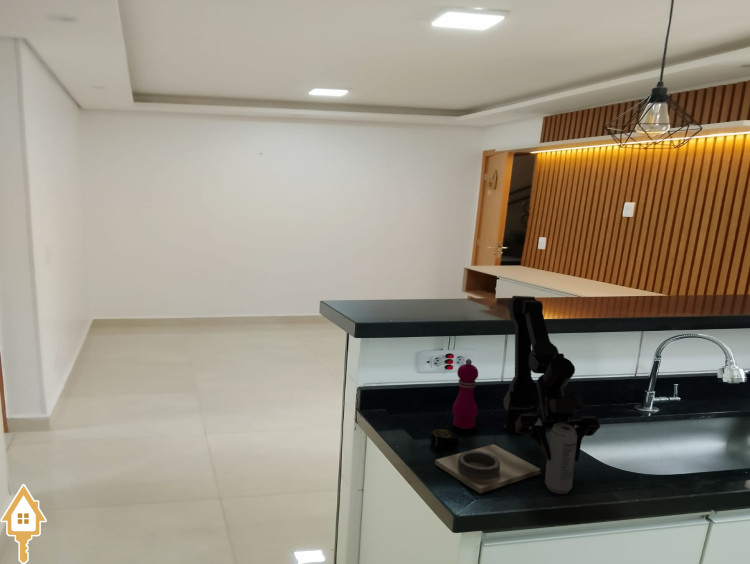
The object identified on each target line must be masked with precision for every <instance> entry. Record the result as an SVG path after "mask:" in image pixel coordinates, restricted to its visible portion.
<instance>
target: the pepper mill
mask: <svg viewBox="0 0 750 564" xmlns="http://www.w3.org/2000/svg"><path fill="white" fill-rule="evenodd" d="M456 373H457V377H458V378H459V379H458V383H457V384H458V386H459V389H458V390H459V391H458V395H457V397H456V399H455V401H454V403H453V406H452V414H453V415H454V417H453V425H454V427H456V428H458V427H459V429H463V430H469V429H473V428H475V425H476V420H475V418H476V417H477V415H478V407H477V402H476V401H475V396H474V395H475V394H474V390H475V387H476V386H477V385H476V383H477V381H476V379H478V378H479V377H478V376H479V370H478V368H477V366H475V365H474V364H472V360H471V359H470V358H468V359H466V360H465V363H463V364H461V365H460V366H459V367H458V369H457V372H456Z"/></svg>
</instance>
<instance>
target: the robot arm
mask: <svg viewBox="0 0 750 564" xmlns="http://www.w3.org/2000/svg"><path fill="white" fill-rule="evenodd" d="M507 311H508V312H509V313H508V314H509V315H508V316H509V319H510V320H511V322H512V323H513V325H514V377H513V378H512V379H511V381H510V383H509V384H508V391H507V392H506V393H505V396H504V398H503V407H504V409H505V410H506V412H507V414H506V424H505V425H504V424H503V425H502V428H503V429H505V430H507V431H510V432H511V433H513V434H515V435H517V436H521V435H525V434H527V437H528V438H531V439H532V440H533V441H534V442H535V444H536V445H537V446H538V447H539V449H540V451H541V453H543V455H544V457H545V459H546V461H547V460H550V459H551V456H550V450H549V446H548V445H549V440H548V437H547V429H552V428H553V425H554V424H556V423H565V424H569V425H571V426H573V427H574V428H575V432H576V434H577V444H576V453H575V462H578V461H579V459H580V452H581V446H582V441H583V438H584V437H591V436H594V434H595V433H596V432H597V431H598V430H599V429H600V428H601V424H600V420H599V418H597V417H596V416H594V415H593V416H590V415H580V417H579V418H578V419H577V420H569V419H571V418H572V417H573V414H574V415H575V414H577V411H583V409H584V402H583V398H582V396H580V395H573V396H571V398H567V396H565V395H564V391H563V390H564V389H563V388H565V387H566V386H567V384H568V383H569V382H570V381H571V379H572V378H573V376H574V374H575V371H576V368H575V365H574V364H573V362H572V361H571V360H569V358H566V357H565V354H564V353H562V352H561V353H559V350H558V347H557V346H555V345H554V343H552V342H551V340H550V336H549V333H548V328H547V325H546V321H545V317H544V313H543V311H544V304H543V302H542V300H537V299H536V297H535V296H528V295H527V296H526V295H513V296H512V297H511V299H508V300H507ZM532 373H534V374H542V375H540V376H539V377H538V379H536V382H535V381H534V379H533V377H532ZM539 403H540V404H539ZM538 407H539V410H541V415H542V418H538V415H537V411H538ZM535 413H536V414H535Z"/></svg>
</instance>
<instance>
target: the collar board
mask: <svg viewBox="0 0 750 564" xmlns="http://www.w3.org/2000/svg"><path fill="white" fill-rule="evenodd" d="M434 462H435V463H434V465H436V466H437V467H438V468H440V469H441V470H442V471H445V472H446V473H448V474H450V475H451V476H453V478H455V479H457V480H458V481H460V482H462V483H463V484H464V485H466V486H468V488H469V487H470V488H471V489H472V490H474V491H475V492H477V493H479V494H483V493H485V492H489V491H492V490H495V489H498V488H501V487H504V486H507V485H510V484H513V483H517V482H519V481H522V480H526V479H529V478H532V477H534V476H538V475H541V468H539V467H537V466H536V465H533V464H532V463H529V462H528V461H526V460H524V459H521V458H520V457H519V456H517V455H514V454H512V453H511V452H509V451H508V450H505V449H503V448H501V447H499V446H497V445H495V444H493V443H492V444H489V445H486V446H481V447H478V448H474V449H470V450H467V451H464V452H460V453H456V454H453V455H452V454H451V455H449V456H445V457H441V458H438V459H435V461H434Z"/></svg>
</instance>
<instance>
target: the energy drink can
mask: <svg viewBox="0 0 750 564" xmlns="http://www.w3.org/2000/svg"><path fill="white" fill-rule="evenodd" d="M548 435H549V436H548V437H549V438H548V446H549V450H550V456H551V459H550V460H547V459H546V467H545V477H544V484H545V486H546V488H547V489H548V490H549V491H550V492H552V493H555V494H560V495H562V494H563V495H565V494H568V493H569V492H570V490H572V488H573V481H574V480H573V479H574V470H575V463H576V461H575V453H576V444H577V434H576V432H575V428H574V427H573V426H571V425H569V424H565V423H556V424H554V425H553V428H550V430H549V434H548Z"/></svg>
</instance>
